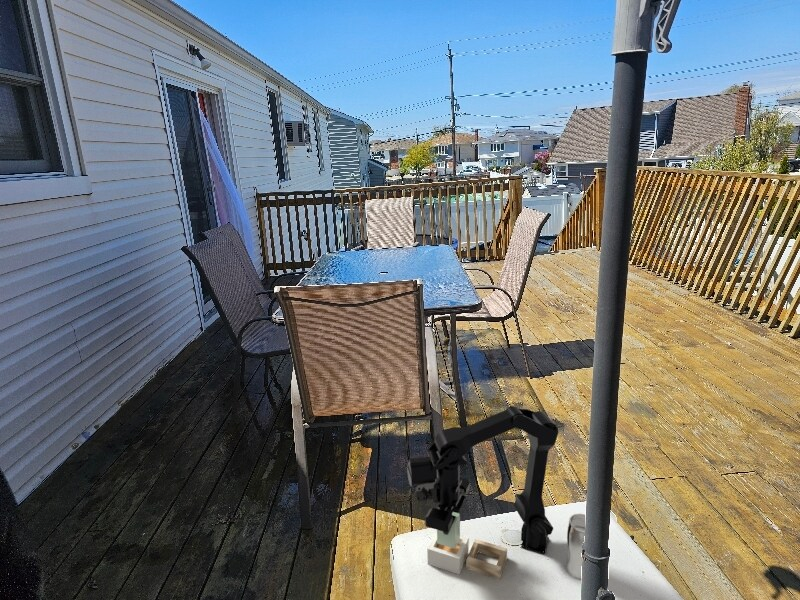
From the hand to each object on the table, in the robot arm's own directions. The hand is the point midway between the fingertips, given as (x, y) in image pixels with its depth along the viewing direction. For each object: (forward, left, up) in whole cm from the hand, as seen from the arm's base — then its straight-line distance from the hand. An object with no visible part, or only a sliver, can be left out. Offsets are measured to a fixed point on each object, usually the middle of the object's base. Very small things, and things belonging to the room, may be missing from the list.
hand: (448, 528), depth 134 cm
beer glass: (-32, -9, -10) cm, 35 cm away
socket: (0, 0, -10) cm, 10 cm away
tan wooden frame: (-10, -2, -10) cm, 14 cm away
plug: (0, 0, -4) cm, 4 cm away
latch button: (0, 0, -8) cm, 8 cm away
